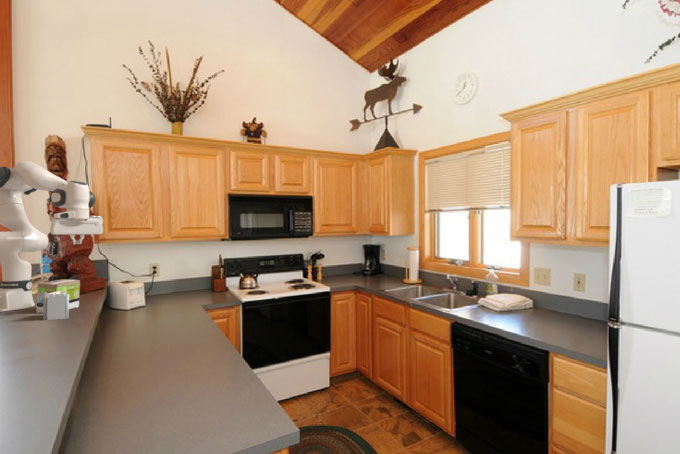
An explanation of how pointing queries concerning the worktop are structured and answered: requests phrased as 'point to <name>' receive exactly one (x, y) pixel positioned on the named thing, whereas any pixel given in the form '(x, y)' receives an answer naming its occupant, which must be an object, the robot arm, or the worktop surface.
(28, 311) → the worktop surface
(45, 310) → the white fence panel
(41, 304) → the tea box
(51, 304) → the blue-grey fence panel
